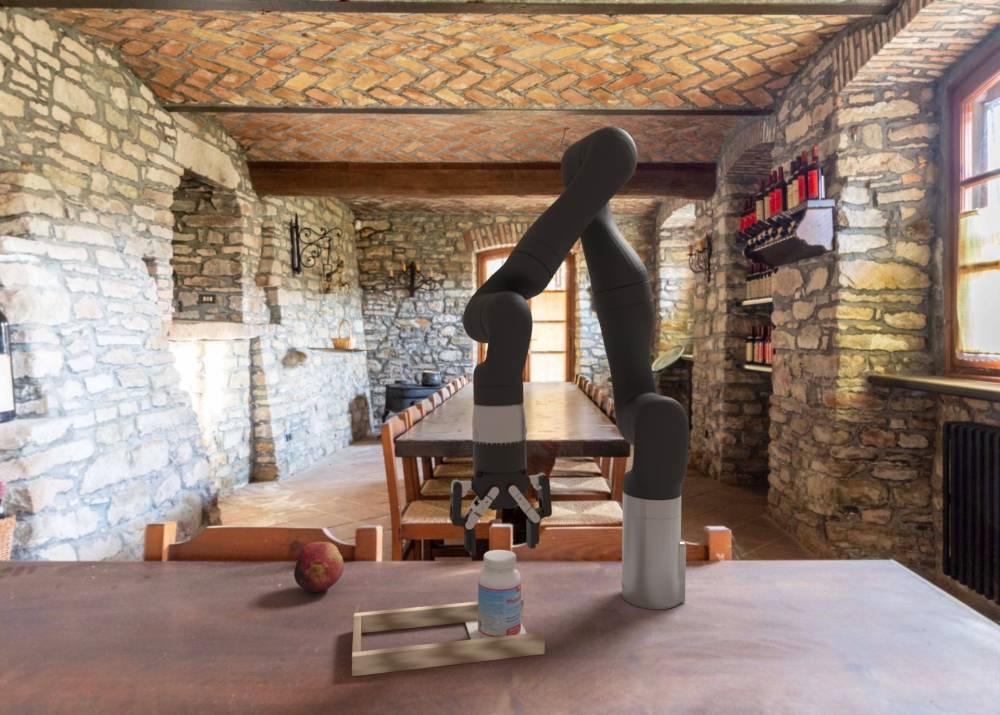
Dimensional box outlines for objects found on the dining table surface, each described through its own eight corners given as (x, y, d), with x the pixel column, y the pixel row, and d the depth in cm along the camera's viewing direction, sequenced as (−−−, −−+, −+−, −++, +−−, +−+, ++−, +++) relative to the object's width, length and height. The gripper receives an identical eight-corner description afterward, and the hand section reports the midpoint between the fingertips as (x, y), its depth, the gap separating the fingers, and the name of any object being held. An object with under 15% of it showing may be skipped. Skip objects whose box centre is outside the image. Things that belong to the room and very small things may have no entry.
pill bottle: (516, 646, 81) (517, 564, 80) (473, 641, 82) (473, 561, 82) (524, 625, 87) (524, 549, 86) (483, 621, 88) (483, 546, 87)
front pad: (517, 618, 89) (517, 616, 89) (534, 648, 81) (534, 646, 81) (465, 623, 88) (465, 621, 88) (476, 655, 79) (476, 653, 79)
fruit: (349, 593, 98) (349, 545, 98) (302, 605, 94) (302, 555, 93) (334, 578, 104) (333, 533, 104) (289, 588, 100) (288, 541, 100)
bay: (521, 613, 91) (521, 597, 91) (544, 653, 79) (544, 635, 79) (354, 630, 86) (354, 613, 86) (352, 676, 74) (352, 656, 74)
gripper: (540, 429, 88) (542, 536, 89) (444, 434, 85) (447, 546, 85) (556, 437, 81) (558, 554, 82) (453, 443, 78) (456, 566, 78)
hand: (501, 550), depth 83 cm, fingers open, 8 cm apart
